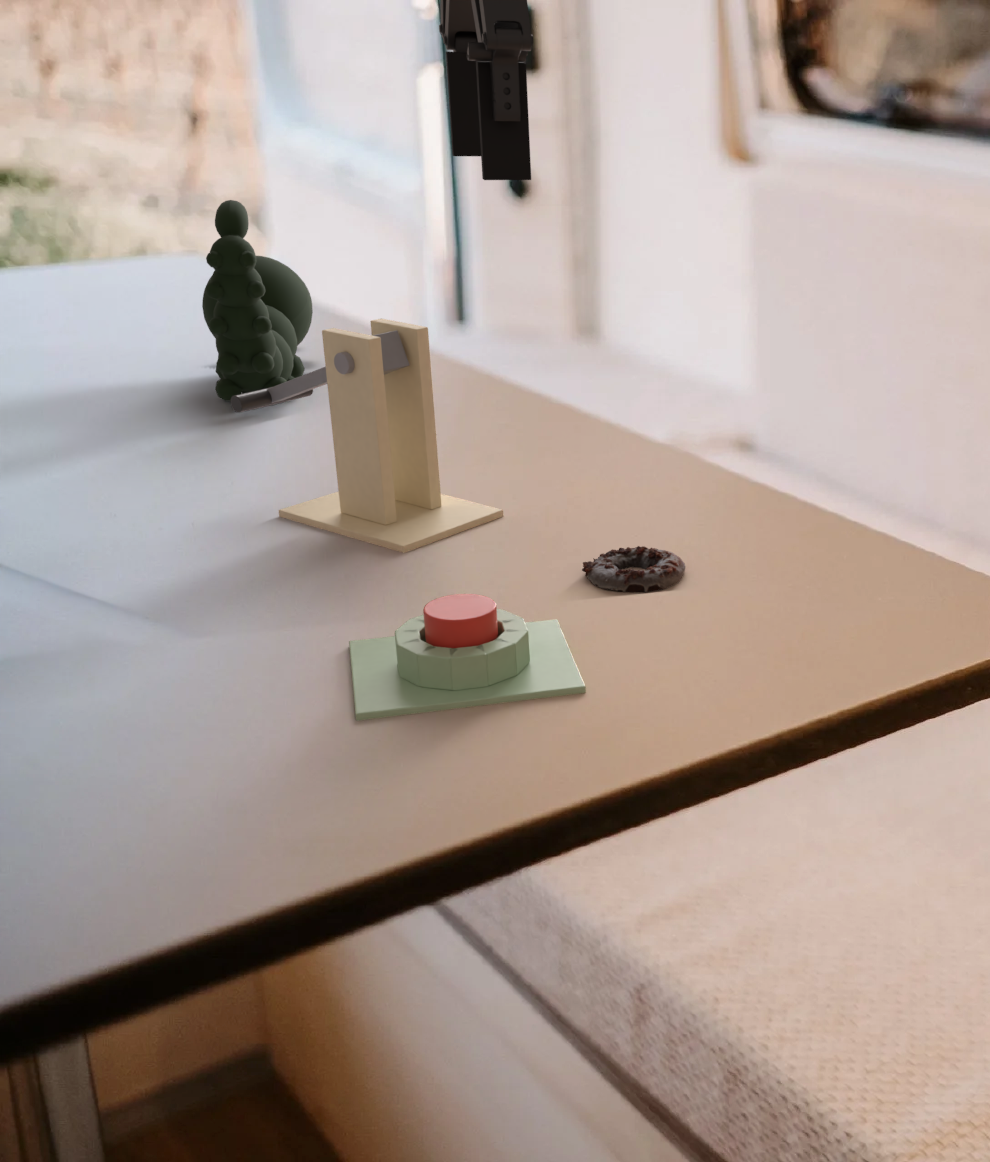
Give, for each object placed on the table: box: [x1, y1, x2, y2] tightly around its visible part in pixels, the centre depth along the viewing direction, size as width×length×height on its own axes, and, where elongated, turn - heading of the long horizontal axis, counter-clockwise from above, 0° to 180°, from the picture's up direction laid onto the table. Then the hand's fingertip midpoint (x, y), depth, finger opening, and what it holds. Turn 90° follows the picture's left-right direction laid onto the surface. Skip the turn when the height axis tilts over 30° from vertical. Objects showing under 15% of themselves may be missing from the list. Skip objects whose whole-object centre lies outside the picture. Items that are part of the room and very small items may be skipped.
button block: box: [348, 608, 587, 722], centre depth 76 cm, size 11×9×4 cm
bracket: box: [278, 318, 504, 554], centre depth 98 cm, size 12×9×14 cm
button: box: [422, 593, 498, 648], centre depth 75 cm, size 4×4×2 cm
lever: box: [230, 330, 409, 414], centre depth 99 cm, size 14×6×2 cm, turn 59°
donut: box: [581, 545, 686, 593], centre depth 91 cm, size 8×8×2 cm
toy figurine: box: [201, 199, 314, 402], centre depth 130 cm, size 9×19×25 cm
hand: (489, 167), depth 92 cm, fingers open, 13 cm apart
